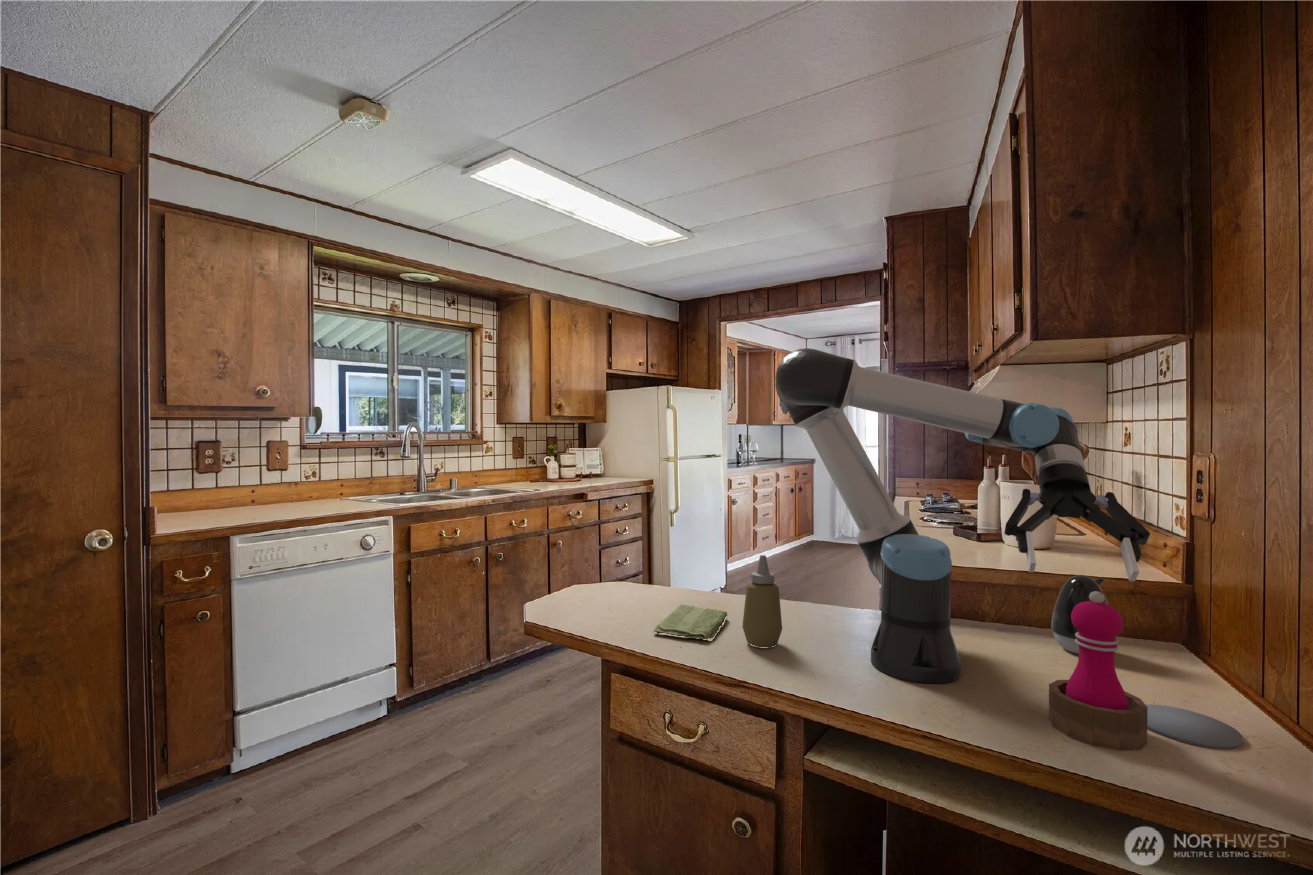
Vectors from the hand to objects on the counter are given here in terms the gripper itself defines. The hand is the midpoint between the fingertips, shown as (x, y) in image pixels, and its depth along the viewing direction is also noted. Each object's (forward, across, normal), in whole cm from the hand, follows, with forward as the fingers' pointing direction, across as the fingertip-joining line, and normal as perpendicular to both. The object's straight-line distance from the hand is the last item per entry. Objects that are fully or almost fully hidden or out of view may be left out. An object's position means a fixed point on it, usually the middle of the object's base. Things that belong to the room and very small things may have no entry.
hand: (1081, 572), depth 94 cm
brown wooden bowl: (+23, +1, -6) cm, 24 cm away
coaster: (+18, -12, -11) cm, 24 cm away
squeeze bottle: (+13, +53, -17) cm, 57 cm away
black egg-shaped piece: (-4, -6, -34) cm, 34 cm away
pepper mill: (+23, +1, -7) cm, 24 cm away
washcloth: (+10, +69, -20) cm, 73 cm away
